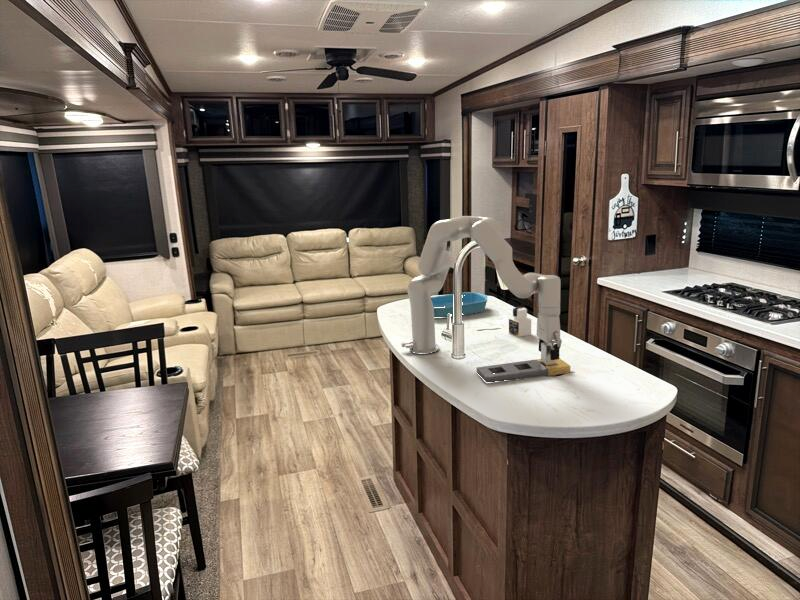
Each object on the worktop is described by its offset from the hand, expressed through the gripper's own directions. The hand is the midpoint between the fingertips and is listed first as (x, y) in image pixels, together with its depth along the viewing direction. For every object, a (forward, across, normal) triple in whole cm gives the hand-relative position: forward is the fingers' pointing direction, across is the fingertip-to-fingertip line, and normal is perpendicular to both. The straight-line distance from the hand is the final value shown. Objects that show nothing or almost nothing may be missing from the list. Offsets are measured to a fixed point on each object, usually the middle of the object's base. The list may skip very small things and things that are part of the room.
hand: (548, 355), depth 200 cm
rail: (+6, 0, -10) cm, 12 cm away
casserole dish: (+6, -87, -10) cm, 88 cm away
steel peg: (+6, 0, 0) cm, 6 cm away
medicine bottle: (+6, -42, +7) cm, 43 cm away
